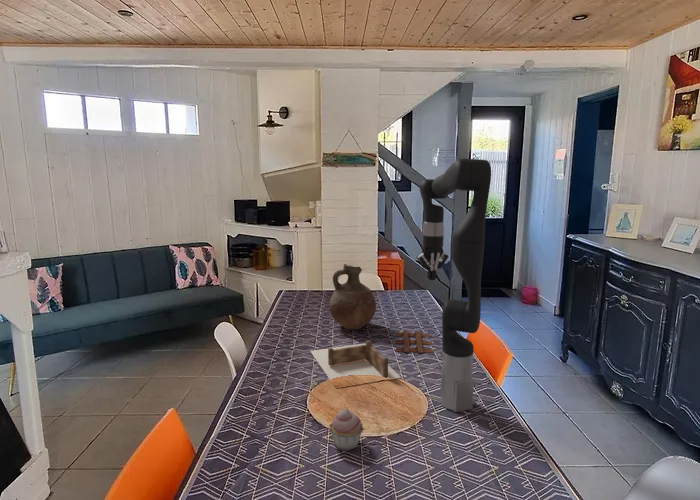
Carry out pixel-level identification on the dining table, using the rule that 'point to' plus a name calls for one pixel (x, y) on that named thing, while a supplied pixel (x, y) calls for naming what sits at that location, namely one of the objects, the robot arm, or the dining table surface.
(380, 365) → the fence fixed
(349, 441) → the cupcake
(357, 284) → the jug
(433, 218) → the robot arm
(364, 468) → the dining table surface
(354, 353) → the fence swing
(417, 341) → the decorative fence
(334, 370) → the card
